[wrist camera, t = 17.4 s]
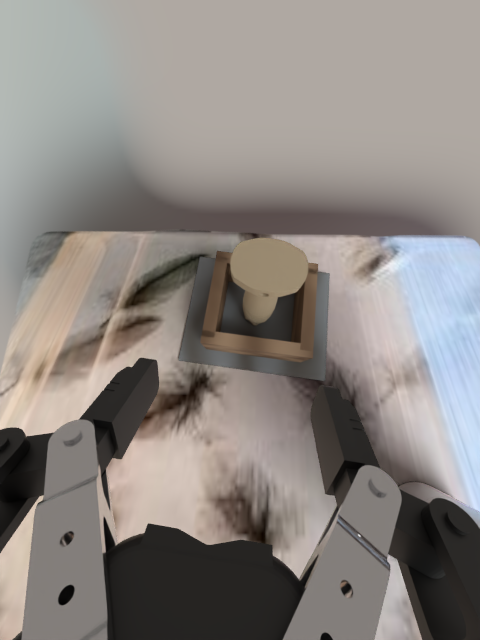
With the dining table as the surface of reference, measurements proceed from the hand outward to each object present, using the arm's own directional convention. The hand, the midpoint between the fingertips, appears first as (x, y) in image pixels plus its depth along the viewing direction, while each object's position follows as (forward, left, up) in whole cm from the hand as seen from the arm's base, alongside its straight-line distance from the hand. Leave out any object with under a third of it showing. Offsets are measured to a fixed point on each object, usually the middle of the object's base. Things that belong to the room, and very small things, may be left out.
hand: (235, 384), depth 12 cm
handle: (-1, -10, -21) cm, 23 cm away
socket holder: (-2, -10, -21) cm, 23 cm away
